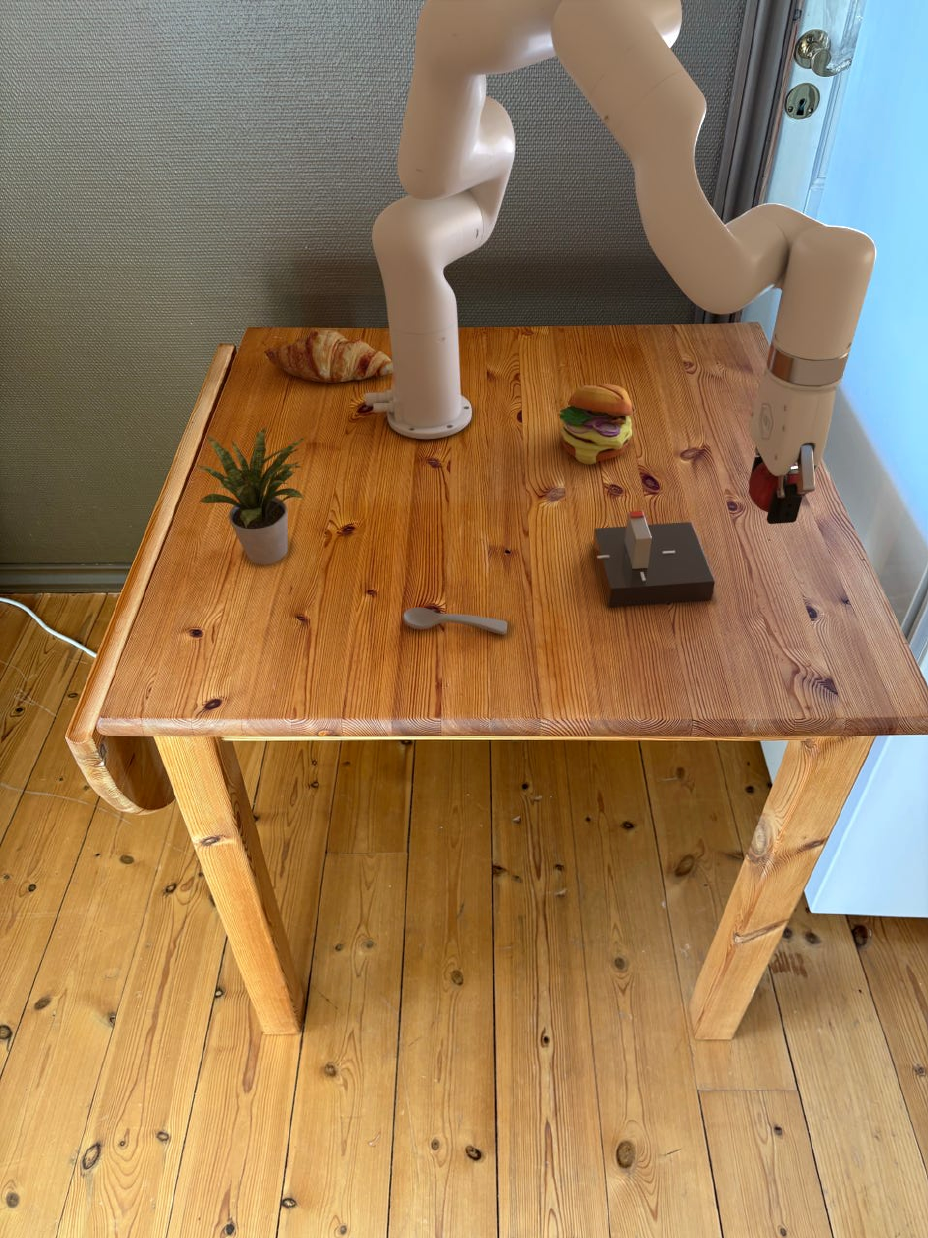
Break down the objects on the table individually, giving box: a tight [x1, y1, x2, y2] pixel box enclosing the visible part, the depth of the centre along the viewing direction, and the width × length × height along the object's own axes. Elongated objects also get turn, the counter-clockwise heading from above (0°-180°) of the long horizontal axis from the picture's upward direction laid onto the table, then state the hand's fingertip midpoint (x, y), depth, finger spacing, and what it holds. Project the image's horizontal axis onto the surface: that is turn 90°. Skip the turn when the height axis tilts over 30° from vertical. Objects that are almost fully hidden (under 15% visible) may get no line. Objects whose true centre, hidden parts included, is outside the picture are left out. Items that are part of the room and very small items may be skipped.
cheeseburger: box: [558, 383, 636, 465], centre depth 129 cm, size 10×11×10 cm
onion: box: [748, 461, 798, 513], centre depth 104 cm, size 6×6×8 cm
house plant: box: [197, 426, 307, 566], centre depth 111 cm, size 14×14×16 cm
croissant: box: [266, 328, 393, 384], centre depth 147 cm, size 21×10×8 cm, turn 80°
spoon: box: [402, 607, 508, 636], centre depth 106 cm, size 3×12×2 cm, turn 82°
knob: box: [625, 510, 652, 569], centre depth 108 cm, size 5×2×5 cm, turn 4°
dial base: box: [592, 521, 716, 609], centre depth 110 cm, size 13×11×3 cm
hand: (771, 502), depth 105 cm, fingers closed on onion, 6 cm apart
